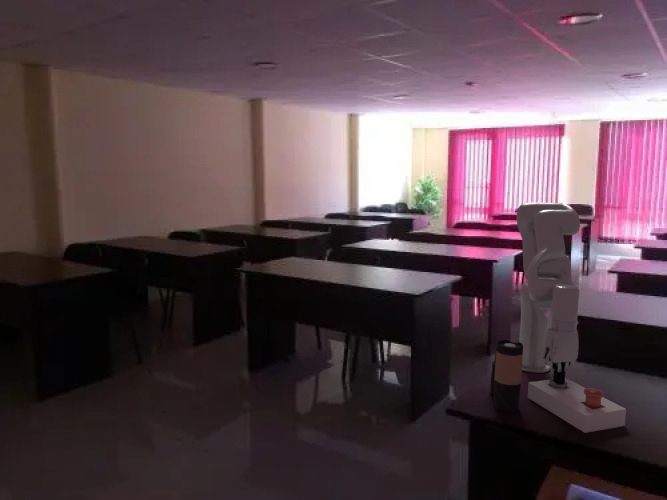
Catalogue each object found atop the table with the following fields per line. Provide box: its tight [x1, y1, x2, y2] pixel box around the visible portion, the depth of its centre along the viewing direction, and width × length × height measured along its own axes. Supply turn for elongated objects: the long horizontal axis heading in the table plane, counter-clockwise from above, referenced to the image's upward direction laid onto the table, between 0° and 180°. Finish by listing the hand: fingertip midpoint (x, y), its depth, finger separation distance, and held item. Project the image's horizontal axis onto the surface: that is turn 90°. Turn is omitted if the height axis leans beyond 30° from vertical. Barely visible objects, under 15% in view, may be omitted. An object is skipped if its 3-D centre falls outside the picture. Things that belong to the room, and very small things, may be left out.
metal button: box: [549, 378, 567, 390], centre depth 167 cm, size 5×5×4 cm
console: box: [527, 377, 627, 434], centre depth 161 cm, size 24×14×5 cm, turn 19°
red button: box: [584, 387, 605, 409], centre depth 154 cm, size 5×5×4 cm
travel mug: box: [493, 339, 523, 413], centre depth 162 cm, size 8×8×20 cm
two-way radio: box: [489, 346, 497, 395], centre depth 173 cm, size 6×4×15 cm
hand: (558, 382), depth 167 cm, fingers closed
